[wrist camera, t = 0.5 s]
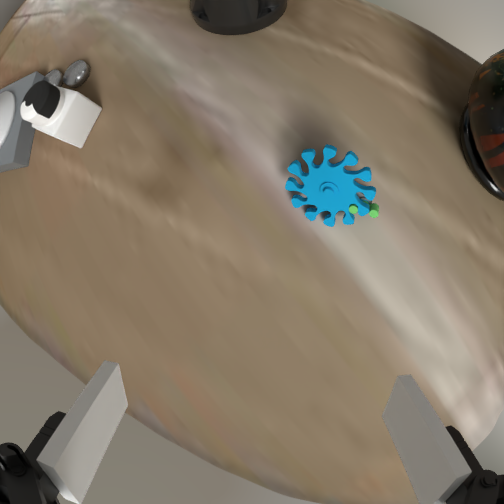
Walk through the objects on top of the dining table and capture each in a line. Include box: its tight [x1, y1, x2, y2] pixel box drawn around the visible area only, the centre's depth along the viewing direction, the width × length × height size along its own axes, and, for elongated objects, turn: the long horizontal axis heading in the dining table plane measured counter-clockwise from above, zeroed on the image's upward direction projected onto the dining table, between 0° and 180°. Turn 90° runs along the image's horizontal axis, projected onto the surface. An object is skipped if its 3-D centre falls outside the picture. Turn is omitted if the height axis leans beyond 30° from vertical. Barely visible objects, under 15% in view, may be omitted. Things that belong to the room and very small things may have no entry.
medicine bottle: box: [20, 80, 102, 148], centre depth 34 cm, size 7×7×12 cm
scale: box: [0, 71, 45, 172], centre depth 40 cm, size 18×20×5 cm
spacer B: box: [43, 69, 64, 87], centre depth 40 cm, size 5×5×2 cm
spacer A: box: [63, 60, 90, 88], centre depth 39 cm, size 5×5×2 cm
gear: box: [285, 144, 379, 227], centre depth 33 cm, size 11×6×10 cm
